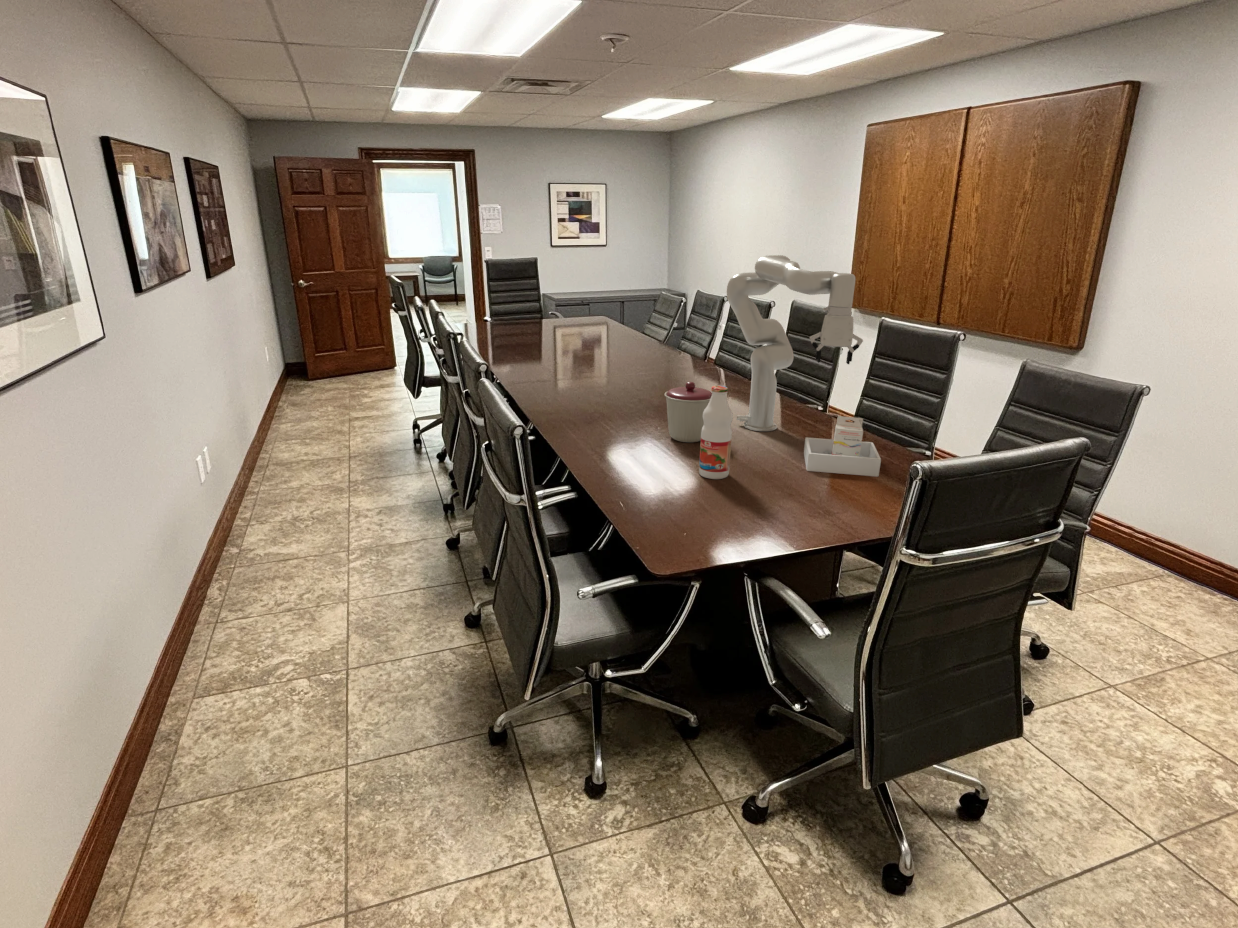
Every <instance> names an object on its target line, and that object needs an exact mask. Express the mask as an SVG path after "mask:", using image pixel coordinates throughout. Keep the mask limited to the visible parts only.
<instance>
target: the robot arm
mask: <svg viewBox="0 0 1238 928" xmlns="http://www.w3.org/2000/svg"><path fill="white" fill-rule="evenodd" d="M754 271H755V272H741V273H737V274H733V276H732V277H730V279H729V281H728V283H727V285H726V298H727V302H728V303H729V306H730V307H731V309H732V311H733V312H734V314H735V316H736V317H735V318H736V319H737V322H738V324H739V328H740V330H741V331H742V334H743V336H744V339H745V341H746V342H747V344H749V345H751V346H758V347H756V348H755V349H754V350H753V351H752V352H751V355H750V367H751V368H750V369H751V381H750V382H751V383H750V394H749V406H748V407H749V408H748V413H747V414H744V415H740V414H739V415H738V414H737V415H736V421H739V422H744V423H743V427H744V428H745V429H747V430H751V431H755V432H772V431H775V430H777V428H778V426H777V423H775V422H774V418H775V417H774V415H775V407H776V406H775V405H776V398H777V383H778V381H777V380H778V379H777V377H776V374H775V371H776V370H783V369H786V368H788V367H791V365H792V364H793V361H794V350H793V347H792V345H791V343H790V341H789V338H788V336H787V334H786V332H785V329H784V327H783V325H782V324H781V323H780V322H779V320H776V319H774V318H763V317H762V315H761V312H760V311H759V309H758V306H757V304H756V303H754V301H753V300H752V299H750V298H749V297H751V296H762V295H766V294H768V293H769V292H771V291H772V290H773V289H775V288H776V287H778V286H779V285H782V286H786V287H787V288H788V289H789V290H791V291H793V292H797V293H801V294H804V295H810V296H815V295H828V294H829V298H828V306H827V307H823V312H824V313H826V314H825V315H824V318H823V322H822V326H821V331H819V332H817V333H815V334H813V335H810V336H809V340H810V343H811V345H812V346H813V348H814V349H815V350H816V354H815V361H816V360H817V363H821V359H822V348H824V347H835V348H836V347H837V348H847V349H848V350H847V353H846V354H847V355H846V359H845V360H846V362H845V363H846V365H850V364H851V363H850V362H853V353H854V352H855V351H857V350H858V349H859V348H860V346H861V345H862V343H863V342H864V340H863V338H861V337H860V336H858V335H857V334H854V316H852V310H853V302H854V292H855V287H856V276H855V274H853V273H847V272H837V271H833V270H819V271H818V270H817V271H812V270H810V271H809V270H806V269H802V268H801V266H800V265H799V262H796V261H795V260H791V259H790V258H789V257H788V256H786V255H781V254H780V255H779V254H778V255H777V254H776V255H773V254H772V255H764V256H761V257H760V258H758V259H757V260H756V262H755V264H754ZM818 338H819V344H817V342H816V339H818ZM853 340H855V341H856V343H855V344H854V345H853V344H852V343H853ZM852 345H853V346H852Z"/></svg>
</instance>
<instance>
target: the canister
mask: <svg viewBox="0 0 1238 928" xmlns="http://www.w3.org/2000/svg"><path fill="white" fill-rule="evenodd" d="M711 396H712V392H711V390H708V389H707V388H701V387H696V384H695V383H694V381H687V382H686V383H685V385H684V386H679V387H678V386H677V387H674V388H670V389H669V390H667V391H665V393H664V397H665V400H666V413H667V414H666V415H667V426H668V433H669V436H670V438H672V439H673V440H675V441H678V442H682V443H697V442H701V431H702V427H703V425H704V421H703V412H704V410H705V408H706V407H707V405H708V403H709V401H710V399H711Z"/></svg>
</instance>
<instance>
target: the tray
mask: <svg viewBox="0 0 1238 928" xmlns="http://www.w3.org/2000/svg"><path fill="white" fill-rule="evenodd" d="M804 438H805V440H804V446H803V447H804V448H803V457H804V463H805V469H806V471H807V472H817V473H820V472H821V473H830V474H844V475H855V476H866V477H879V475H880V468H881V464H882V463H881V462H882V458H881V456H880V454H879V452H878V450H877V448H876V446H875V444H874V442H872V441H862V443H861V449H860V456H859V457H856V456H843V455H832V448H833V441H834V438H832V439H831V438H819V437H818V438H817V437H807V436H805V437H804Z"/></svg>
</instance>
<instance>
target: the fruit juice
mask: <svg viewBox="0 0 1238 928" xmlns="http://www.w3.org/2000/svg"><path fill="white" fill-rule="evenodd" d="M710 389H711V390H710V392H711V393H712V396H711V399H710V401H709V403H708V405H707V407H706V408H705V410H704V412H703V421H704V425H703V427H702V431H701V441H700V445H699V462H698V464H699V465H698V474H699V476H701V477H703V478H706V479H709V480H711V479H712V480H722V479H723V480H724V479H725V478H728V476H729V473H730V464H731V454H732V453H731V452H732V438H733V437H732V436H733V430H732V427H731V426H732V425H731V424H732V422H733V419H734V418H733V417H734V414H733V411H732V409H731V407H730V405H729V401H728V397H727V394H728V392H729V388H728V387H727V386H725V385H713V386H711V388H710Z"/></svg>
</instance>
